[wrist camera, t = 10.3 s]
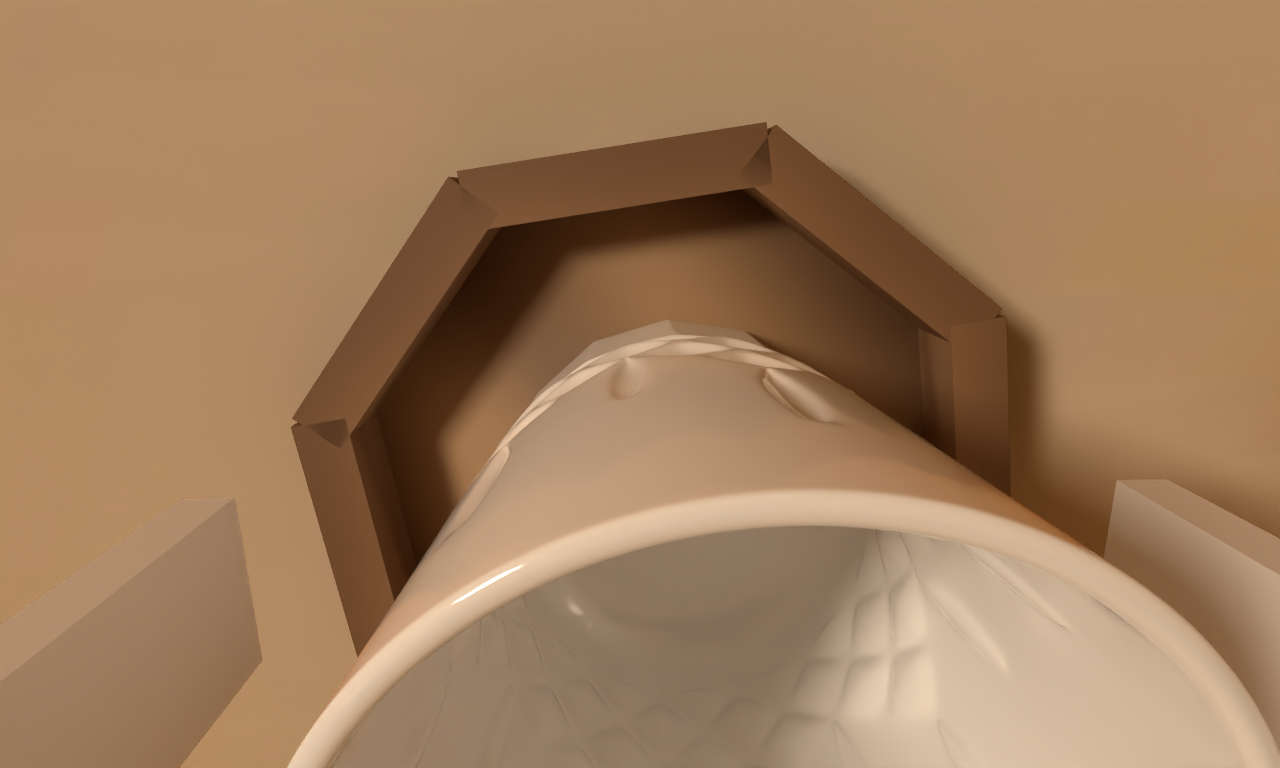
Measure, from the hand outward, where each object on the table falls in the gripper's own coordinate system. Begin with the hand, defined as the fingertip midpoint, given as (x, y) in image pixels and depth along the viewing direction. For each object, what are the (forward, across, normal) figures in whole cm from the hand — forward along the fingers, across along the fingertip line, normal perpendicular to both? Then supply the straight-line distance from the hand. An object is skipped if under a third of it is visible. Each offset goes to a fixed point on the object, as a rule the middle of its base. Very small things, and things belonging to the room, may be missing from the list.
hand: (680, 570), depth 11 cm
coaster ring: (+5, 0, 0) cm, 5 cm away
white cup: (+4, 0, 0) cm, 4 cm away
